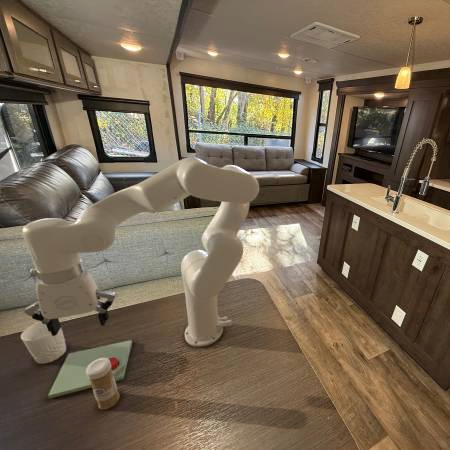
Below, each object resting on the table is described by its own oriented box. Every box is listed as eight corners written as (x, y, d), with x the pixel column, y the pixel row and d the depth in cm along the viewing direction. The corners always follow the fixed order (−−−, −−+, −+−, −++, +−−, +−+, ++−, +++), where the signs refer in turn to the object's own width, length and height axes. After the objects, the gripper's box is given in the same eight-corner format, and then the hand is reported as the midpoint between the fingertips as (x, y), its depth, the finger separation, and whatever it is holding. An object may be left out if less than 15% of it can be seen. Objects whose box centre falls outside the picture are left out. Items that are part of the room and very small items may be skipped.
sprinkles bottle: (96, 413, 61) (82, 377, 56) (100, 395, 65) (88, 360, 60) (118, 406, 63) (107, 370, 58) (121, 389, 67) (111, 354, 62)
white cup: (47, 369, 70) (35, 343, 66) (25, 362, 71) (12, 336, 67) (76, 346, 77) (67, 322, 73) (55, 340, 78) (45, 316, 75)
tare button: (119, 360, 72) (118, 355, 71) (116, 369, 69) (115, 365, 68) (106, 363, 70) (104, 359, 70) (102, 373, 68) (101, 369, 67)
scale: (132, 342, 80) (130, 335, 79) (123, 379, 69) (121, 372, 68) (69, 356, 74) (66, 349, 73) (49, 399, 63) (45, 391, 62)
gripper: (0, 287, 50) (28, 348, 57) (104, 273, 57) (118, 328, 64) (19, 268, 56) (43, 324, 63) (111, 257, 64) (124, 309, 70)
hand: (81, 326), depth 64 cm, fingers open, 9 cm apart
